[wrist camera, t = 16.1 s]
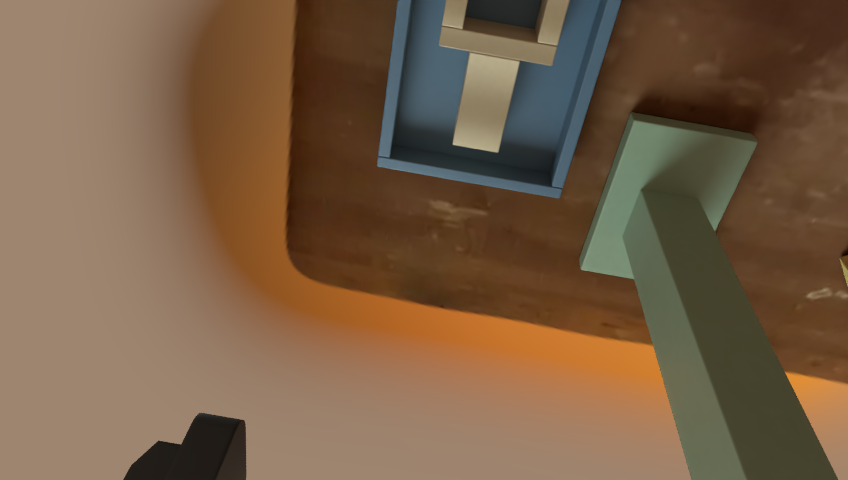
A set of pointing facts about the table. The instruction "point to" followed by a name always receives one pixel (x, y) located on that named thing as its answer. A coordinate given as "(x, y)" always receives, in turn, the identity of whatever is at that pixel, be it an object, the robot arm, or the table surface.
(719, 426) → the stand
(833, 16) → the table surface
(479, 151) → the tray
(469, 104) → the beige square frame paddle
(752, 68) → the table surface
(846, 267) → the candy box
